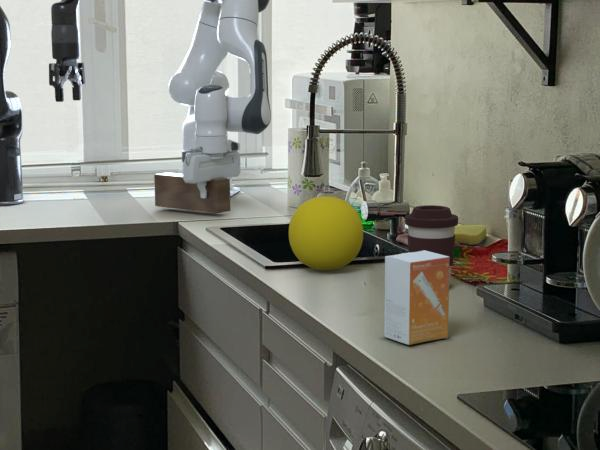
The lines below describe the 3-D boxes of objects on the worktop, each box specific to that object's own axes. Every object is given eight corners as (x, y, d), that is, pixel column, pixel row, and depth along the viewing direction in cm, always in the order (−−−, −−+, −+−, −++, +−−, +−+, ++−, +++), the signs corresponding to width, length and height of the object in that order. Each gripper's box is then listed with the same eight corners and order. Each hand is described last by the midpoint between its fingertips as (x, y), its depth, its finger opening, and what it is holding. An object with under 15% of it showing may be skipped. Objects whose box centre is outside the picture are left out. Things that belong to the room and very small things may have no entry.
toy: (345, 259, 223) (344, 190, 221) (374, 273, 209) (374, 199, 207) (278, 265, 218) (278, 194, 216) (304, 279, 204) (304, 204, 202)
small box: (409, 346, 158) (409, 262, 156) (383, 337, 163) (383, 255, 161) (449, 337, 162) (450, 255, 160) (423, 329, 168) (424, 249, 166)
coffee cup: (400, 280, 202) (400, 204, 200) (450, 279, 203) (451, 203, 201) (409, 292, 193) (410, 212, 190) (462, 291, 193) (463, 211, 191)
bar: (155, 206, 296) (154, 174, 294) (167, 203, 300) (167, 172, 298) (217, 213, 282) (217, 180, 281) (230, 211, 286) (229, 178, 285)
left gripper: (62, 41, 278) (65, 102, 281) (91, 41, 291) (93, 99, 294) (38, 41, 281) (42, 102, 284) (68, 41, 294) (70, 99, 297)
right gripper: (194, 149, 273) (196, 202, 276) (243, 143, 290) (244, 192, 292) (176, 148, 277) (178, 200, 279) (226, 142, 293) (227, 191, 296)
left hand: (68, 101), depth 289 cm, fingers open, 8 cm apart
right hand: (212, 196), depth 286 cm, fingers closed on bar, 5 cm apart
